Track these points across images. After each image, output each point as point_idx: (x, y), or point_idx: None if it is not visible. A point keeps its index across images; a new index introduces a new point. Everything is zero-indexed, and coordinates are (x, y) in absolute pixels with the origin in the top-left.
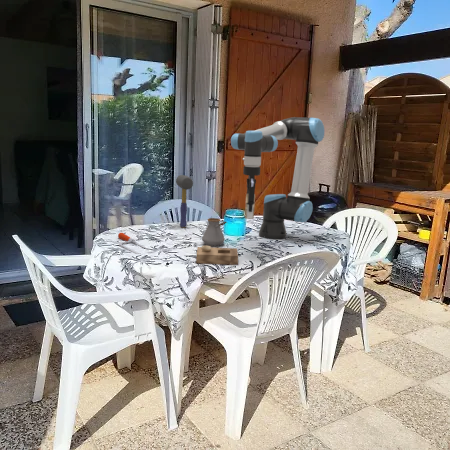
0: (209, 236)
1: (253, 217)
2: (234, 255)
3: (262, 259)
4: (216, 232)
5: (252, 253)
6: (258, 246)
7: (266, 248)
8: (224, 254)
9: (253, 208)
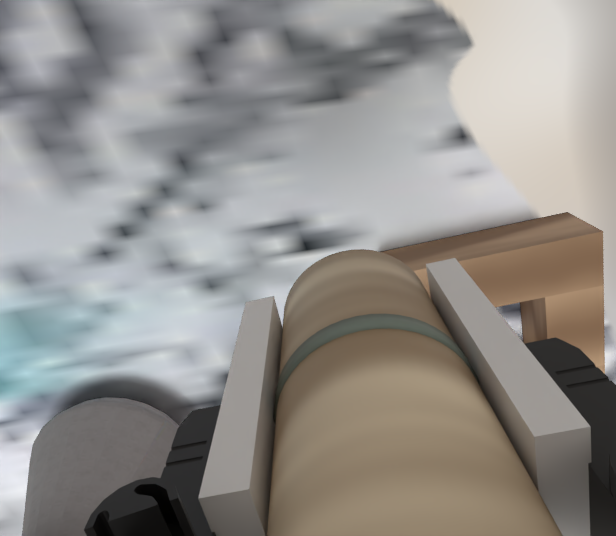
0: None
1: (381, 259)
2: (594, 259)
3: (385, 46)
4: None
5: (241, 152)
6: (5, 133)
7: (31, 53)
8: (577, 330)
9: (439, 354)
